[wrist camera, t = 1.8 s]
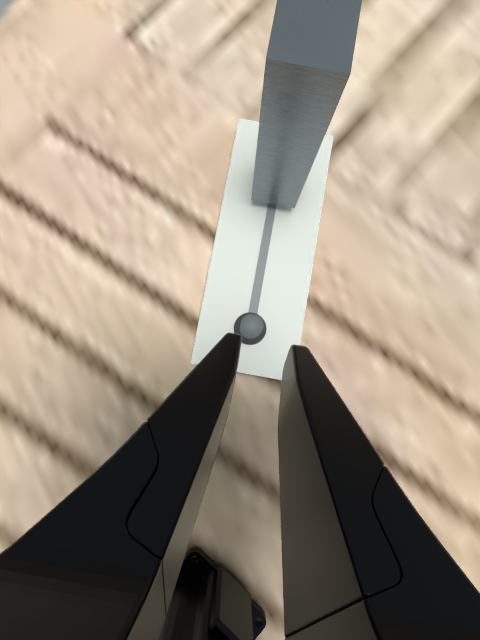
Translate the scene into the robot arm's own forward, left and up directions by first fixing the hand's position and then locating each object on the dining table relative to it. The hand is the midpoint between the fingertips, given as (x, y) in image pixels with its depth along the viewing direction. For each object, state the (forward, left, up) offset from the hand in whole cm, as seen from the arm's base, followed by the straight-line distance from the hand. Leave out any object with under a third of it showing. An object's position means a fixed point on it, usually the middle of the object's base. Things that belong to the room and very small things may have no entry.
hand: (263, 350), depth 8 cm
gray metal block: (+10, +6, -12) cm, 17 cm away
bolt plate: (+6, +4, -14) cm, 16 cm away
